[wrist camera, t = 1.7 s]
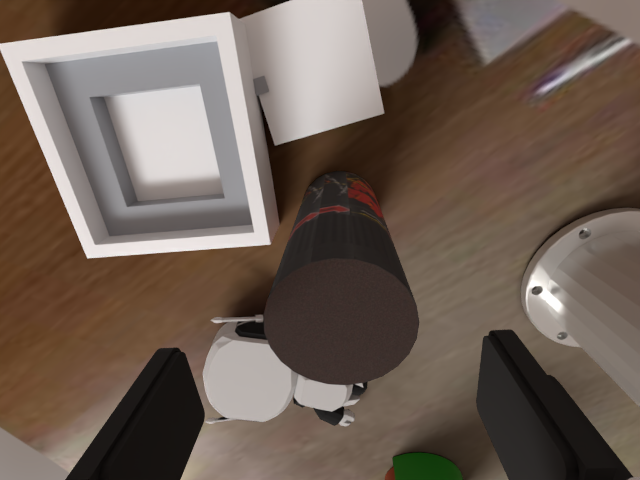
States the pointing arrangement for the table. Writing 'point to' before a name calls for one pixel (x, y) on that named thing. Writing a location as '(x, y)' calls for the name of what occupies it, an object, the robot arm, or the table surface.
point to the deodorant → (340, 289)
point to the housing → (152, 134)
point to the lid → (312, 66)
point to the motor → (422, 468)
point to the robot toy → (265, 379)
